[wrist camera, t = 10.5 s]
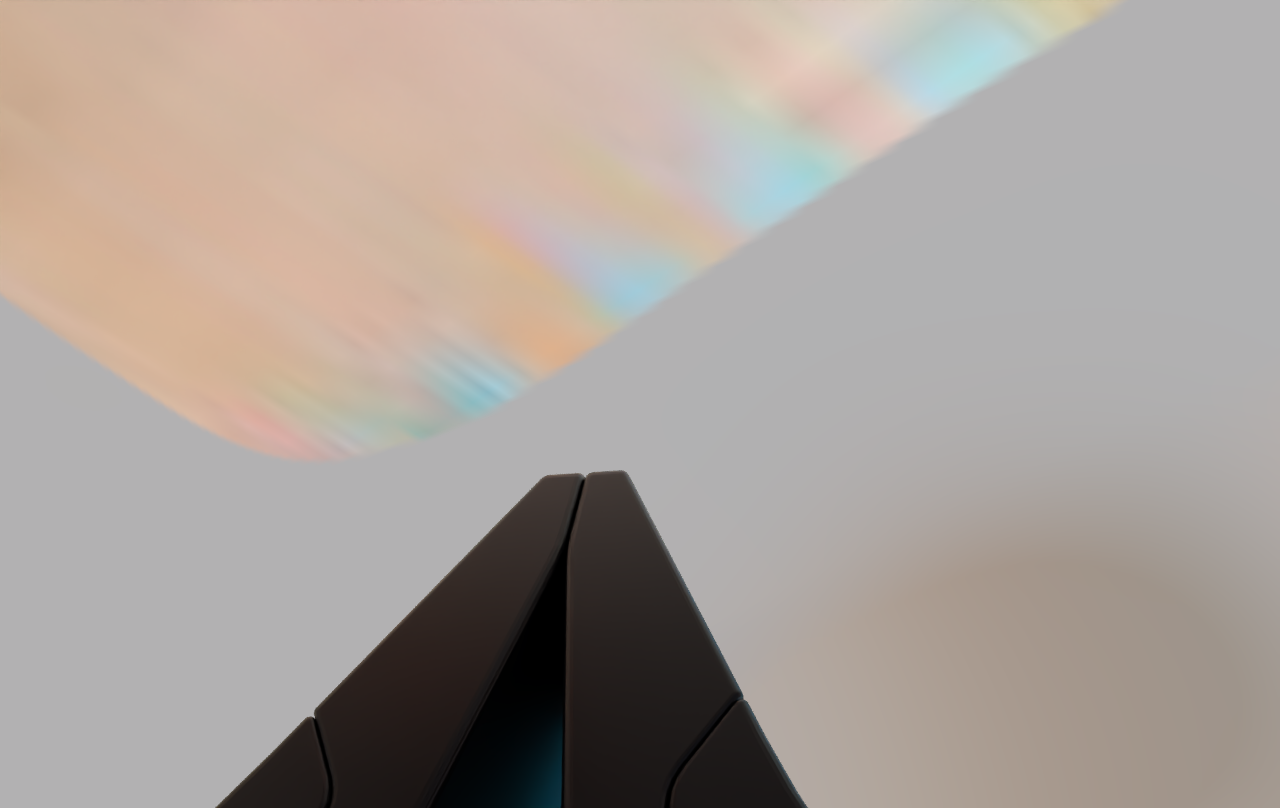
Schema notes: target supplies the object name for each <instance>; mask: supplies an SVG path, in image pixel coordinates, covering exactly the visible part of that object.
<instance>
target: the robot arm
mask: <svg viewBox="0 0 1280 808" xmlns="http://www.w3.org/2000/svg"><path fill="white" fill-rule="evenodd" d="M314 716H315V718H313V717H307V718H305V720H303V721H302V722H301V723H300V725H299V726H298V727H297V728H296V729H295V730H294V731H293V732H292V733H291V734H290V735H289V736H288V737H287V738H286V739H285V740H284V741H283V742H282V743H281V744H280V745H279V746H278V747H277V748H276V749H275V750H274V751H273V752H272V753H271V754H270V755H269V756H268V757H267V758H266V759H265V760H264V761H263V762H262V763H261V764H260V765H259V766H258V767H257V768H256V769H255V770H254V771H253V772H251V774H249V775H248V776H247V777H246V778H245V780H243V781H242V782H241V783H240V784H239V785H238V786H237V787H236V788H235V789H234V790H233V791H232V792H231V793H230V794H229V795H228V796H227V797H226V798H225V799H224V800H223V801H222V802H221V803H220V804H219V805H218V806H217V807H216V808H808V807H807V806H806V804H805V803H804V801H803V800H802V799H801V797H800V795H799V794H798V792H797V791H796V789H795V787H794V785H793V784H792V782H791V780H790V778H789V777H788V775H787V773H786V771H785V770H784V768H783V767H782V764H781V763H780V761H779V759H778V757H777V756H776V754H775V752H774V750H773V749H772V747H771V745H770V743H769V742H768V740H767V738H766V736H765V734H764V732H763V731H762V729H761V727H760V725H759V723H758V721H757V719H756V717H755V715H754V713H753V712H752V710H751V708H750V706H749V704H748V702H747V701H745V700H744V699H743V694H742V691H741V689H740V688H739V686H738V684H737V682H736V680H735V678H734V676H733V674H732V672H731V670H730V669H729V666H728V665H727V663H726V661H725V659H724V657H723V655H722V653H721V651H720V649H719V647H718V645H717V644H716V642H715V640H714V638H713V636H712V634H711V632H710V630H709V628H708V626H707V624H706V622H705V620H704V618H703V617H702V615H701V613H700V611H699V609H698V607H697V605H696V603H695V602H694V599H693V597H692V596H691V594H690V592H689V590H688V588H687V586H686V584H685V582H684V580H683V578H682V576H681V574H680V572H679V571H678V569H677V567H676V565H675V563H674V561H673V559H672V557H671V555H670V553H669V551H668V549H667V548H666V546H665V544H664V542H663V540H662V538H661V536H660V534H659V532H658V530H657V528H656V526H655V525H654V523H653V521H652V519H651V517H650V515H649V513H648V511H647V509H646V507H645V505H644V503H643V501H642V500H641V498H640V496H639V494H638V492H637V490H636V488H635V486H634V484H633V482H632V480H631V479H630V477H629V475H628V474H627V473H626V472H625V471H622V470H621V471H620V470H619V471H605V472H593V473H589V474H588V475H587V476H586V478H585V477H584V476H583V475H582V474H580V473H575V474H558V475H547V476H545V477H543V478H542V479H541V480H540V481H539V482H538V483H537V484H536V485H535V486H534V487H533V488H532V489H531V490H530V491H529V492H528V493H527V494H526V495H525V496H524V497H523V498H522V499H521V500H520V501H519V502H518V503H517V504H516V505H515V506H514V507H513V508H512V509H511V510H510V511H509V512H508V513H507V514H506V515H505V516H504V517H503V518H502V519H501V520H500V521H499V522H498V523H497V524H496V526H494V527H493V528H492V529H491V530H490V532H489V533H488V534H487V535H486V536H485V537H484V538H483V539H482V540H481V541H480V542H479V543H478V544H477V545H476V546H475V547H474V548H473V549H472V550H471V551H470V552H469V553H468V554H467V555H466V556H465V557H464V558H463V559H462V560H461V561H460V562H459V563H458V564H457V565H456V566H455V567H454V568H453V569H452V570H451V571H450V572H449V573H448V574H447V575H446V576H445V577H444V578H443V579H442V580H441V581H440V583H438V584H437V586H435V588H434V589H433V590H432V591H431V592H430V593H429V594H428V595H427V596H426V597H425V598H424V599H423V600H422V601H421V602H420V603H419V604H418V605H417V606H416V607H415V608H414V609H413V610H412V611H411V612H410V613H409V614H408V615H407V616H406V617H405V618H404V619H403V620H402V621H401V622H400V623H399V624H398V625H397V626H396V627H395V628H394V629H393V630H392V631H391V632H390V633H389V634H388V635H387V636H386V637H385V638H384V639H383V640H382V641H381V642H380V644H379V645H378V646H377V647H376V648H375V649H374V650H373V651H372V652H371V653H370V654H369V655H368V656H367V657H366V658H365V659H364V660H363V661H362V662H361V663H360V664H359V665H358V666H357V667H356V668H355V669H354V670H353V671H352V672H351V673H350V674H349V675H348V676H347V677H346V678H345V679H344V680H343V681H342V682H341V683H340V684H339V685H338V686H337V687H336V688H335V689H334V690H333V691H332V693H331V694H329V695H328V697H326V698H325V700H324V701H323V702H322V703H321V704H320V705H319V706H318V707H317V708H316V709H315V711H314Z"/></svg>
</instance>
